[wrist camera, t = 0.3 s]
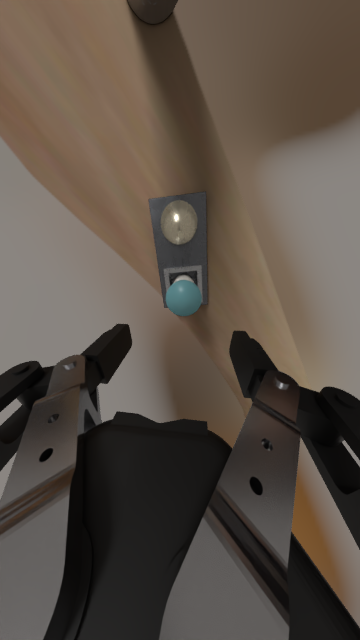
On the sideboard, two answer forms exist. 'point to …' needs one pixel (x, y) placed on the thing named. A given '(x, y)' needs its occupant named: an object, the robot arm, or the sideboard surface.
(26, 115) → the sideboard surface
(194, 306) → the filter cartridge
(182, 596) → the robot arm
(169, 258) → the filter housing
